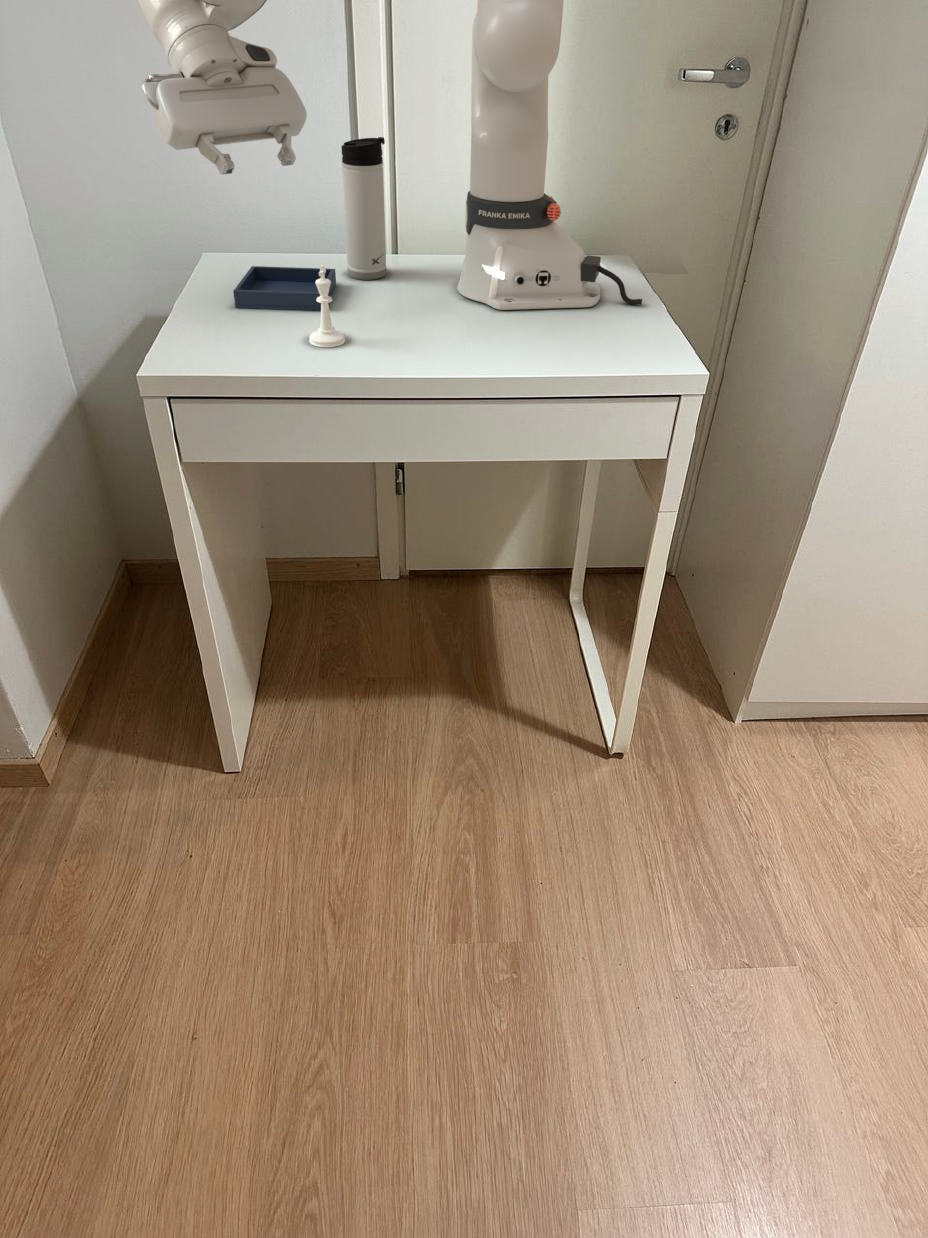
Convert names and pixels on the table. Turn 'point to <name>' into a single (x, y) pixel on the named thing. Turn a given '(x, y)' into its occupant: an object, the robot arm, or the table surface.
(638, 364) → the table surface
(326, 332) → the chess piece
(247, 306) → the tray
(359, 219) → the travel mug
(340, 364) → the table surface
